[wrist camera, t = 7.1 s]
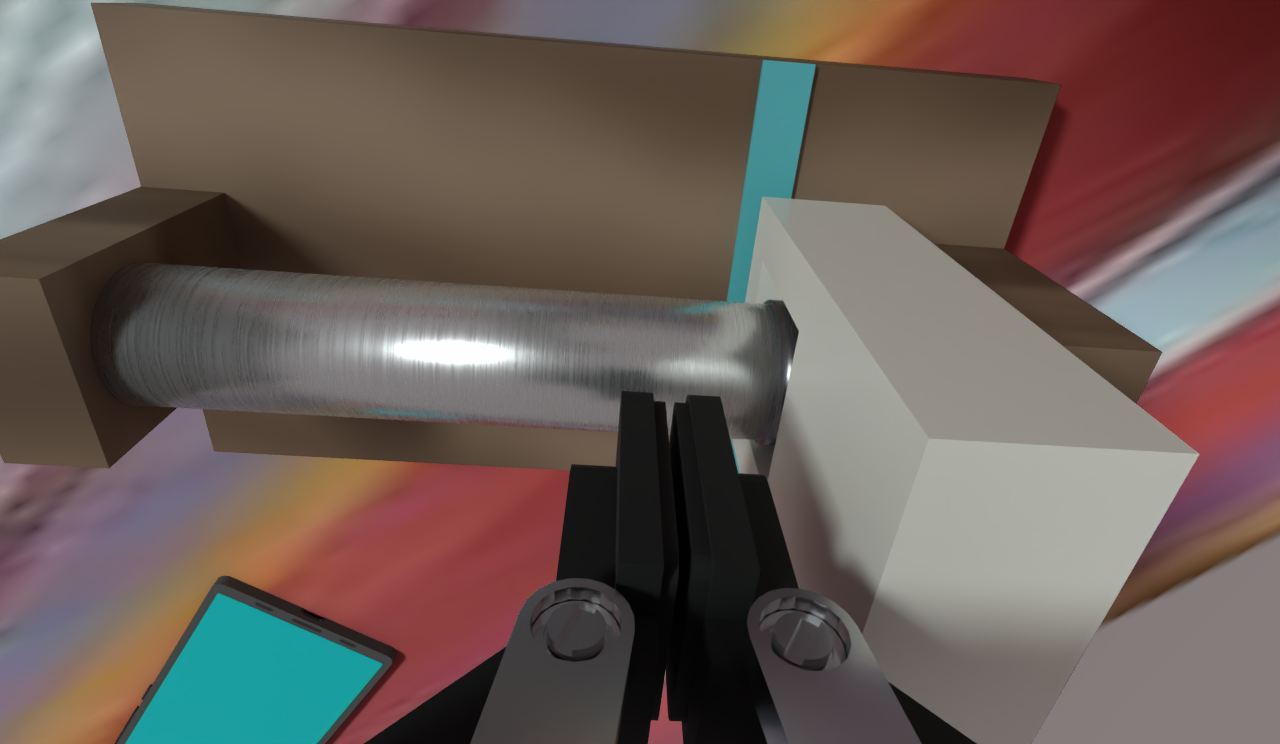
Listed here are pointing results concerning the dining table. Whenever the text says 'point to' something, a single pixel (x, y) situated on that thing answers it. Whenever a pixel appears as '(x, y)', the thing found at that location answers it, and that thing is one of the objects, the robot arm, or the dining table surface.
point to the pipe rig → (477, 237)
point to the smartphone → (257, 675)
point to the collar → (948, 467)
